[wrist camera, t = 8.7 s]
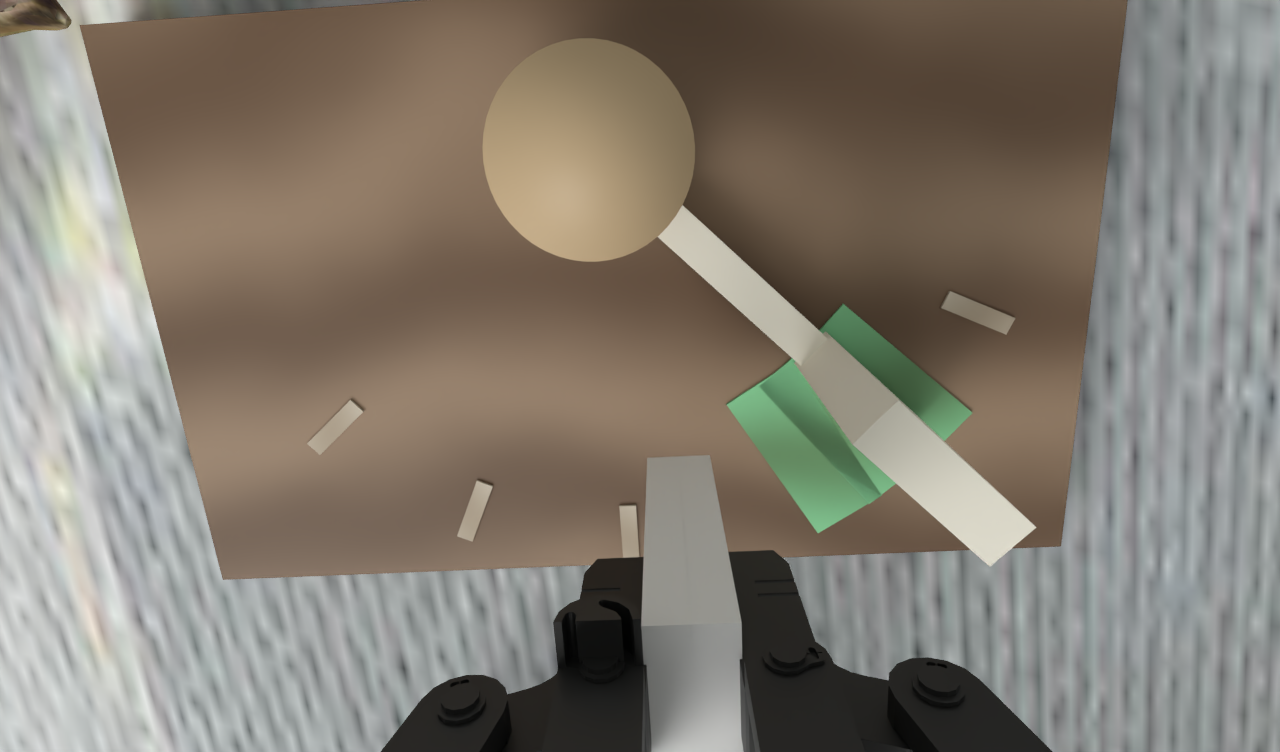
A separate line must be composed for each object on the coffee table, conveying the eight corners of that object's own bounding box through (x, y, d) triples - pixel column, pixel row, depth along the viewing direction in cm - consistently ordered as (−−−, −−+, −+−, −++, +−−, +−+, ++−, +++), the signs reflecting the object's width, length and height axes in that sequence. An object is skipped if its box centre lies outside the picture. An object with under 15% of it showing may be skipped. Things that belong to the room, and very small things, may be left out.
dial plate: (1034, 522, 23) (1062, 547, 21) (249, 554, 24) (221, 581, 22) (1096, -34, 18) (1136, -53, 17) (123, 36, 19) (77, 24, 18)
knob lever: (969, 382, 19) (1101, 472, 14) (853, 490, 20) (930, 617, 15) (591, 24, 17) (558, -51, 11) (481, 166, 18) (399, 163, 12)
